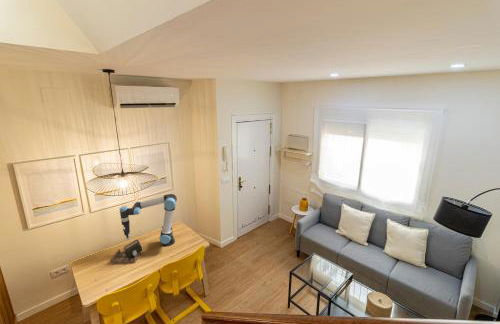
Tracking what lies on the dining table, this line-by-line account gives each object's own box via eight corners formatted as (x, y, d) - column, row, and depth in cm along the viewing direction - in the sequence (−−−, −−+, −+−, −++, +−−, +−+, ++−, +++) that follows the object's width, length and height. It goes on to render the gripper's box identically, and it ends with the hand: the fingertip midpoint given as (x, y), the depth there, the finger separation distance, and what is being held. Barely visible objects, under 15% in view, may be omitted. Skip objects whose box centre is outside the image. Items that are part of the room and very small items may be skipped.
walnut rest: (141, 252, 272) (140, 248, 271) (135, 262, 255) (134, 258, 254) (119, 253, 271) (118, 249, 269) (111, 264, 253) (110, 259, 252)
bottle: (140, 244, 280) (144, 252, 259) (126, 252, 273) (129, 261, 251) (137, 238, 278) (140, 246, 257) (123, 246, 270) (125, 255, 249)
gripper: (124, 217, 266) (127, 236, 273) (119, 223, 254) (122, 243, 260) (131, 217, 267) (133, 236, 273) (126, 223, 255) (129, 242, 261)
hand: (128, 239), depth 267 cm, fingers closed
